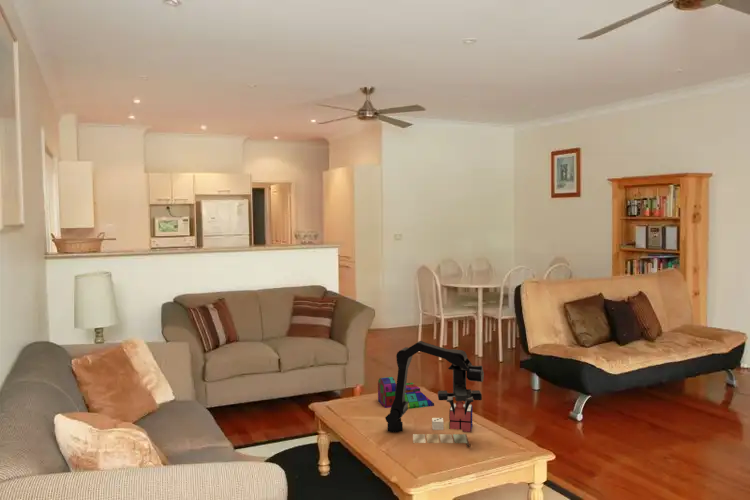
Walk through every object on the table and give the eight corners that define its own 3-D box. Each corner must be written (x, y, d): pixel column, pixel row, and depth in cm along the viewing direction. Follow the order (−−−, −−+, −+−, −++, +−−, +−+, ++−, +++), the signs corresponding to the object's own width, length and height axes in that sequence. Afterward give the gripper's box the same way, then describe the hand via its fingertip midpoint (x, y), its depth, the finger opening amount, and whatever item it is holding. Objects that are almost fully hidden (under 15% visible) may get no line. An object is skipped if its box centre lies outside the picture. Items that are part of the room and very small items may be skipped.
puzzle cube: (471, 432, 288) (471, 411, 287) (449, 431, 290) (449, 410, 289) (472, 425, 297) (472, 404, 297) (451, 423, 299) (451, 403, 299)
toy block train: (388, 411, 318) (388, 384, 317) (378, 401, 334) (377, 375, 333) (434, 406, 326) (434, 379, 324) (421, 396, 342) (421, 371, 341)
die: (432, 432, 289) (432, 420, 288) (432, 428, 294) (432, 417, 293) (443, 432, 288) (443, 420, 288) (442, 428, 293) (442, 417, 293)
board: (411, 446, 273) (411, 443, 273) (410, 435, 285) (410, 433, 284) (469, 446, 272) (469, 443, 271) (466, 436, 284) (466, 433, 283)
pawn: (455, 418, 275) (455, 402, 274) (454, 415, 279) (454, 399, 278) (465, 418, 274) (465, 402, 274) (464, 415, 279) (464, 399, 278)
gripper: (439, 385, 268) (439, 420, 269) (483, 385, 267) (483, 420, 268) (437, 377, 279) (438, 412, 280) (480, 377, 278) (480, 412, 279)
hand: (459, 414), depth 277 cm, fingers closed on pawn, 4 cm apart
